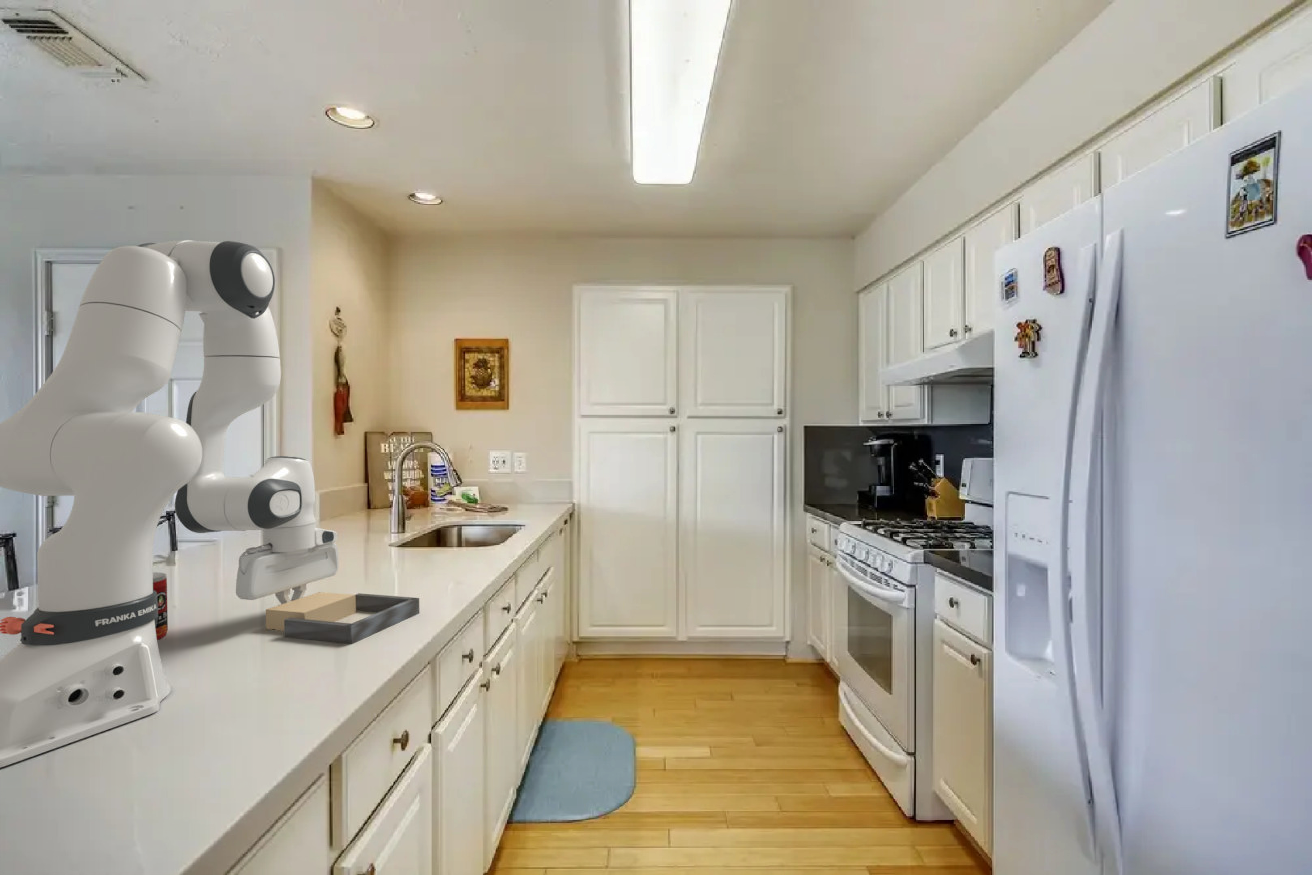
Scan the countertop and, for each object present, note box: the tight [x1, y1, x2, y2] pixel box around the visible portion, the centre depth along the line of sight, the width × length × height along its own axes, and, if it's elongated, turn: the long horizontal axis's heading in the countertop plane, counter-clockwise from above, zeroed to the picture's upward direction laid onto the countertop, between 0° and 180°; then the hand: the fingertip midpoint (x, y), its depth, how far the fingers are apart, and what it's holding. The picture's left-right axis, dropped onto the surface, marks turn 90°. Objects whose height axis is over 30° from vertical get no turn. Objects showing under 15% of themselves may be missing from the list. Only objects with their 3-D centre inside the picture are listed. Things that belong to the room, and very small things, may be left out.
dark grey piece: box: [283, 593, 420, 645], centre depth 111 cm, size 17×15×3 cm
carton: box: [265, 591, 357, 632], centre depth 113 cm, size 12×9×4 cm
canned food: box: [153, 571, 169, 641], centre depth 104 cm, size 8×8×11 cm
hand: (291, 610), depth 115 cm, fingers closed
